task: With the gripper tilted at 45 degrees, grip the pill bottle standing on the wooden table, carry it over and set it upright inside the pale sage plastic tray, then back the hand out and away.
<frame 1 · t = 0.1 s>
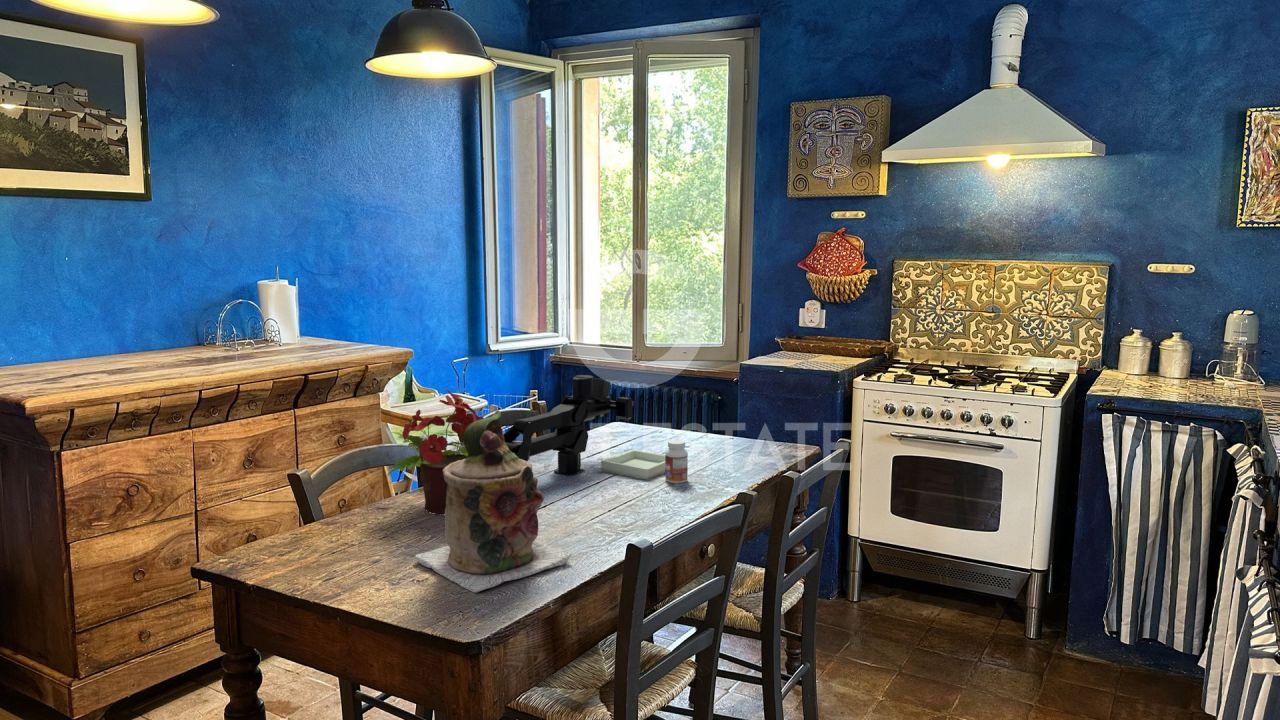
hand: (621, 401, 273), 17 cm above the table, tool horizontal, fingers open, 9 cm apart
pill bottle: (676, 481, 246), on the table
cookie jar: (493, 563, 186), on the table
potted plant: (451, 504, 226), on the table
tray: (640, 469, 258), on the table
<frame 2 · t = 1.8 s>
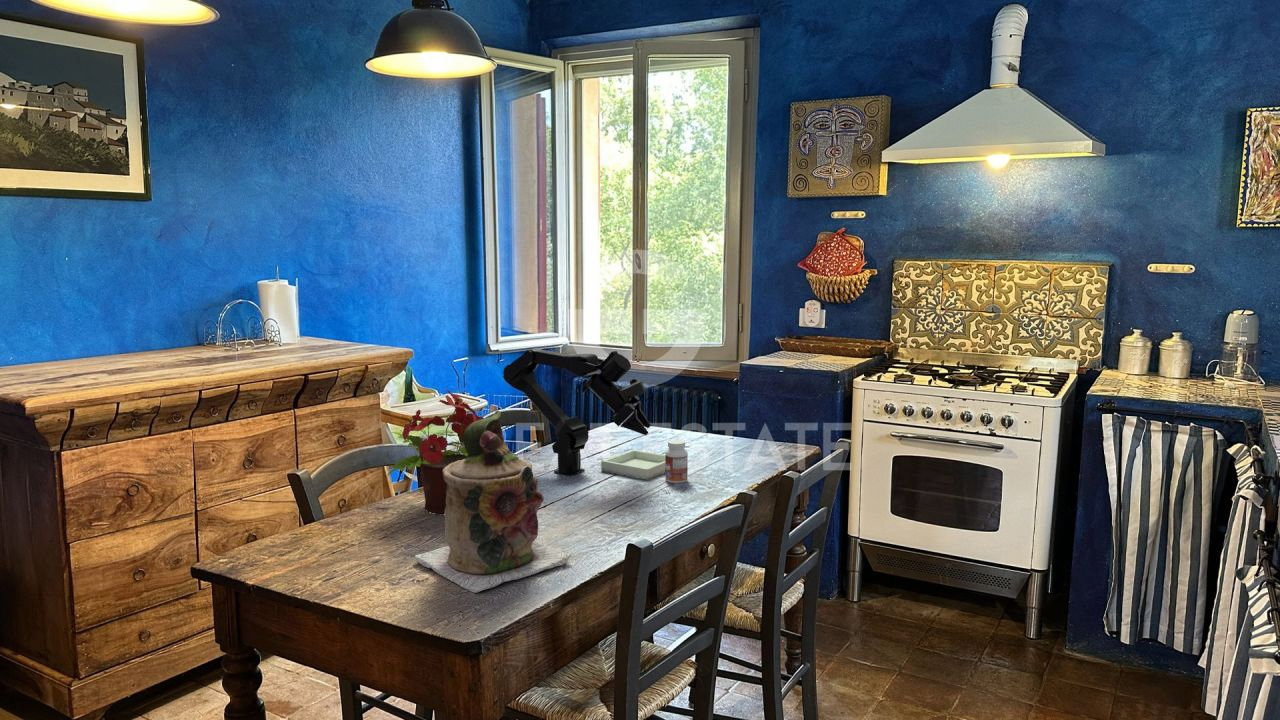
hand: (648, 430, 246), 14 cm above the table, tool tilted 45°, fingers open, 9 cm apart
nothing on the table moved.
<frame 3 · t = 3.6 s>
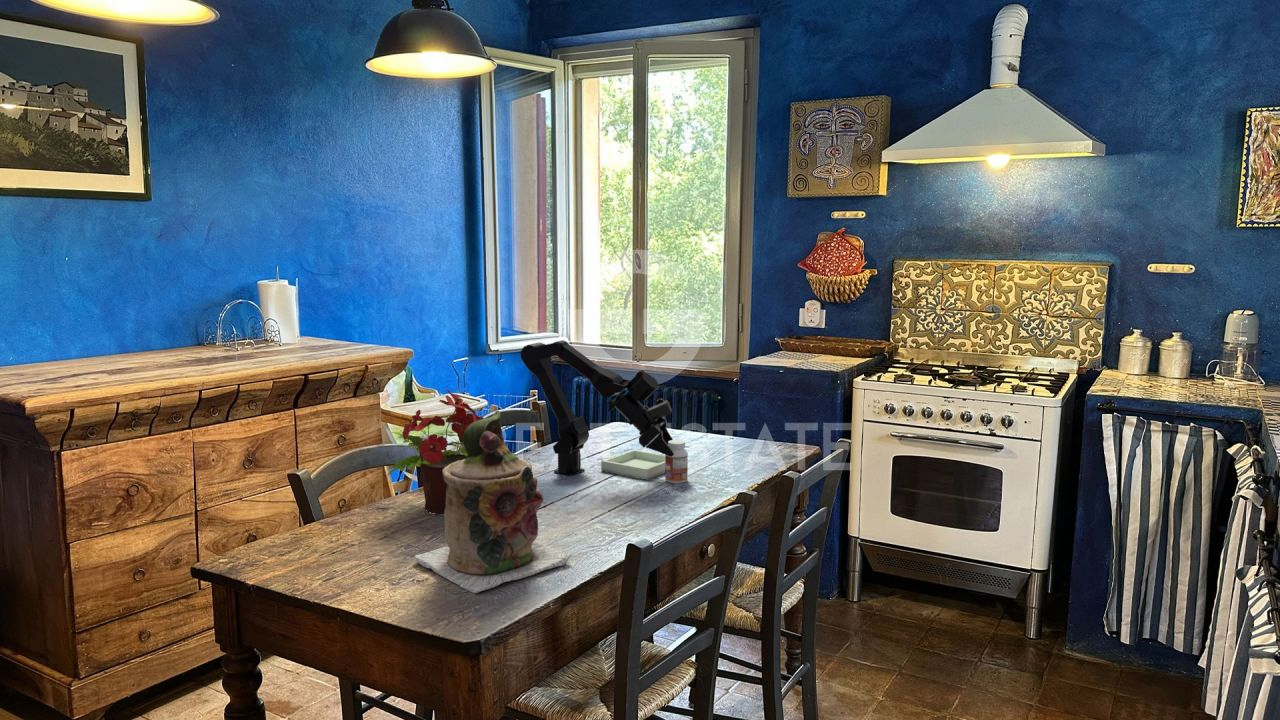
hand: (674, 451, 245), 8 cm above the table, tool tilted 45°, fingers open, 9 cm apart
nothing on the table moved.
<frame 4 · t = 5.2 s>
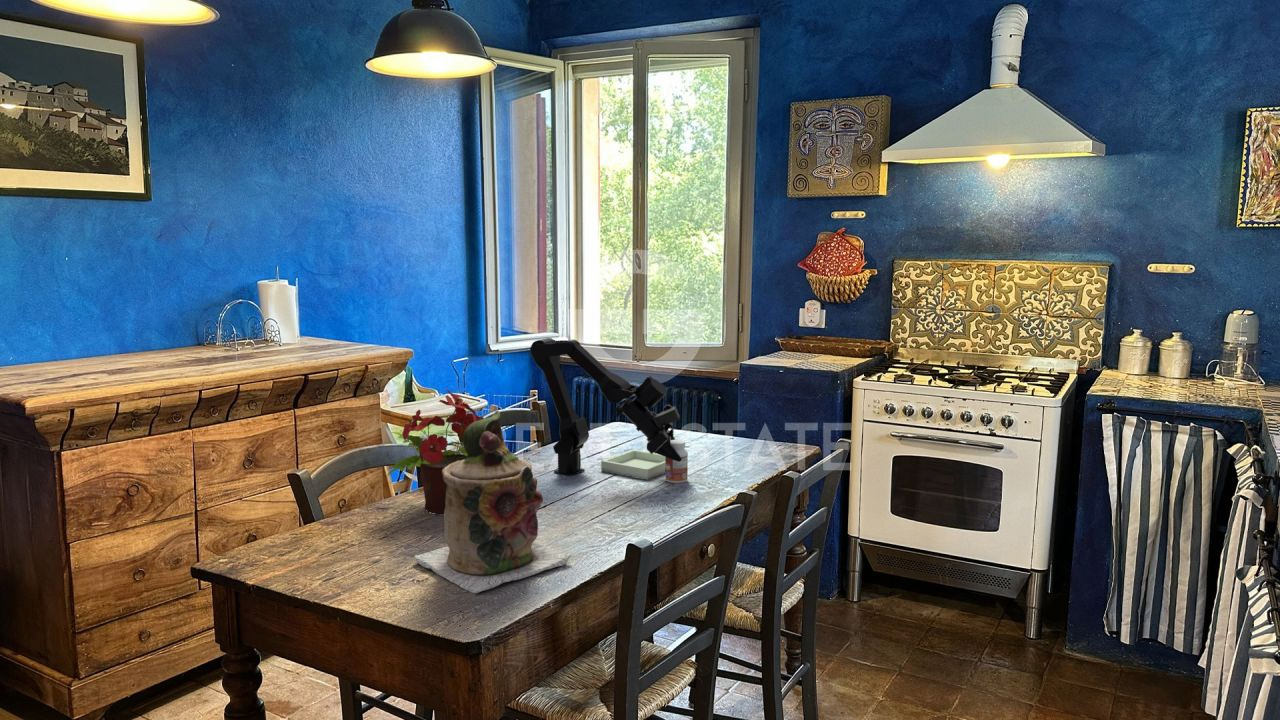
hand: (681, 457, 245), 7 cm above the table, tool tilted 45°, fingers closed on pill bottle, 6 cm apart
pill bottle: (676, 481, 246), on the table, touching gripper
everything else where it was.
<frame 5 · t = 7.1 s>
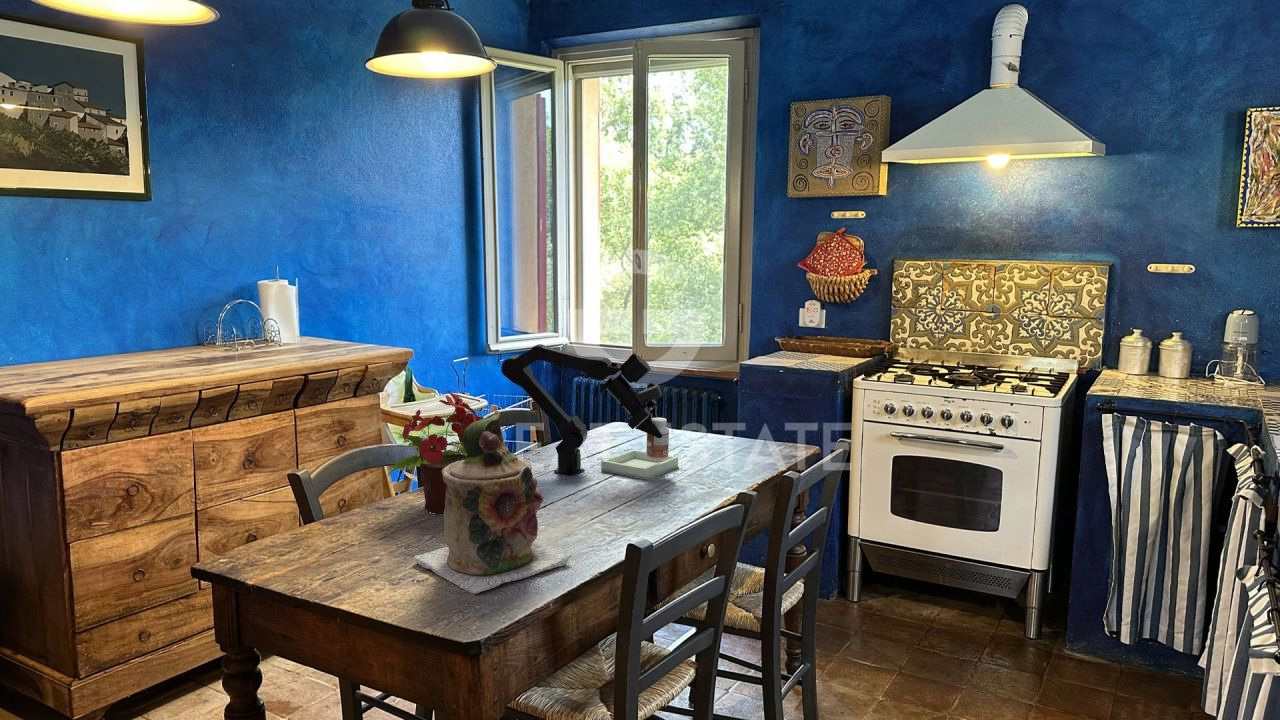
hand: (662, 434, 250), 12 cm above the table, tool tilted 45°, fingers closed on pill bottle, 6 cm apart
pill bottle: (657, 458, 251), point 5 cm above the table, touching gripper
everything else where it was.
when the fingers open (9 cm above the table, at t = 9.4 s): pill bottle stays where it is, resting on tray.
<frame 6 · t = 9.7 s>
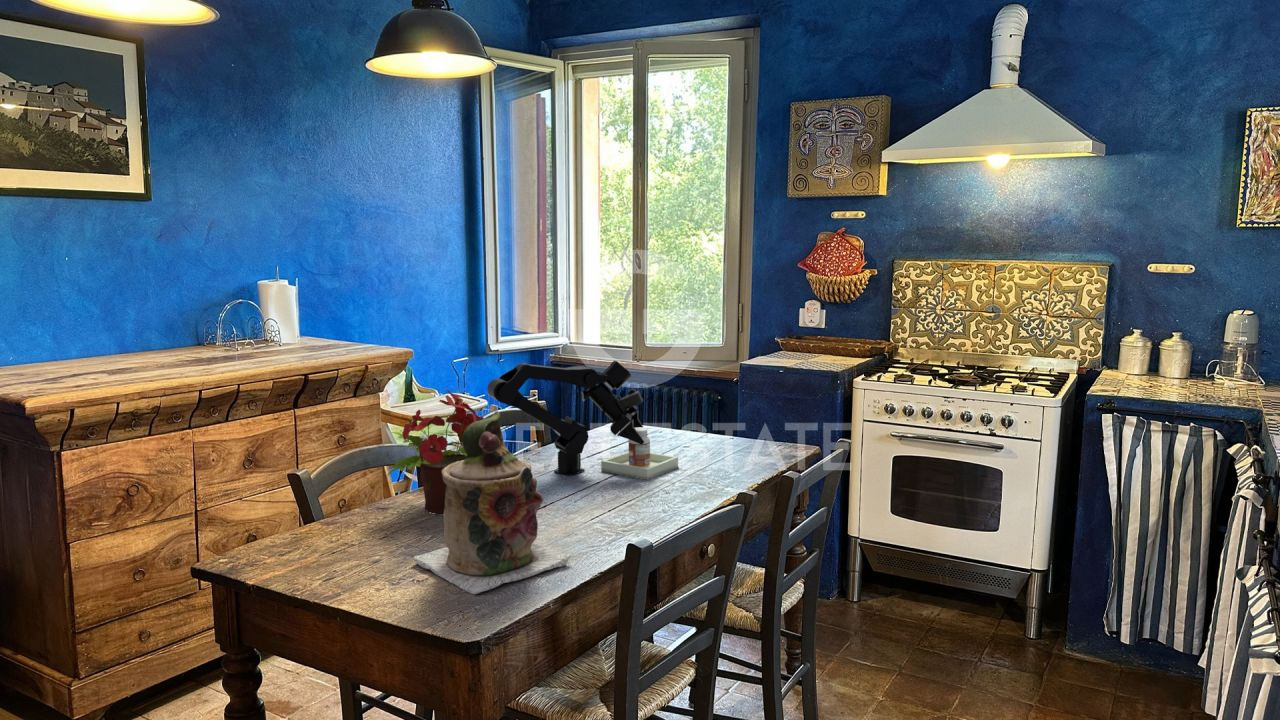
hand: (644, 439, 257), 9 cm above the table, tool tilted 45°, fingers open, 9 cm apart
pill bottle: (639, 467, 258), point 1 cm above the table, touching tray
everything else where it was.
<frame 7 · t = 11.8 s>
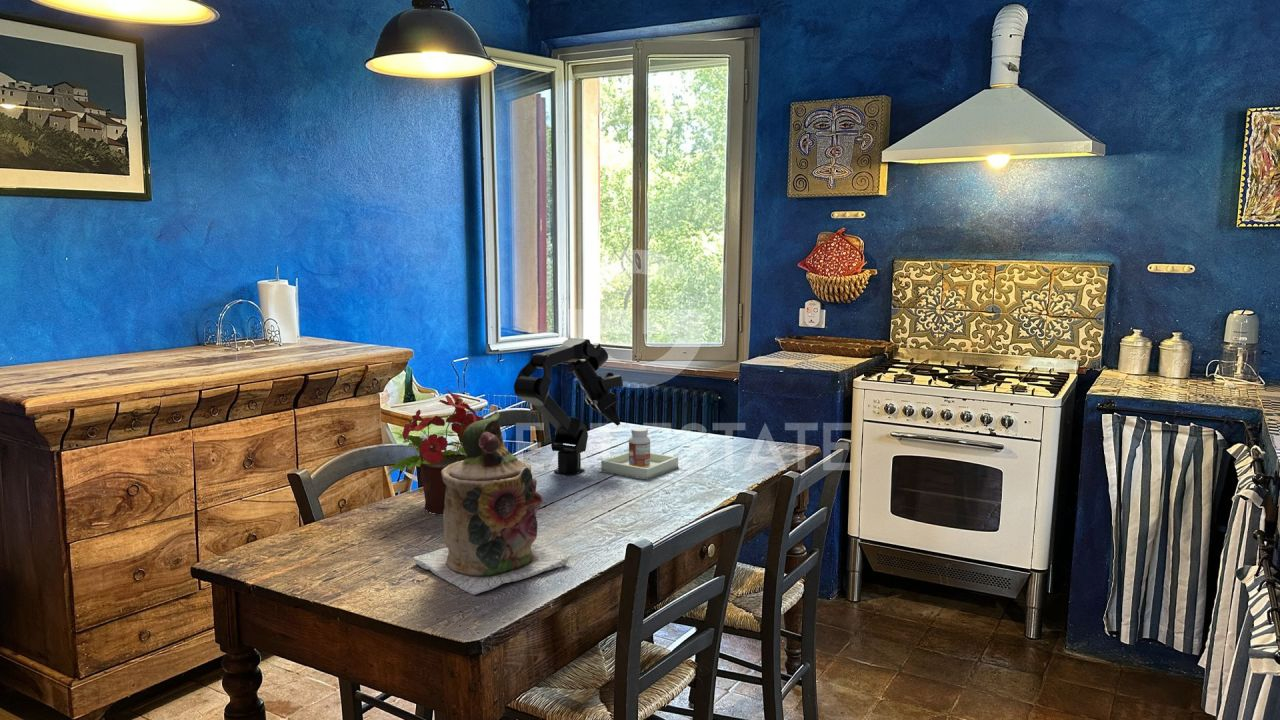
hand: (615, 422, 261), 13 cm above the table, tool tilted 30°, fingers open, 9 cm apart
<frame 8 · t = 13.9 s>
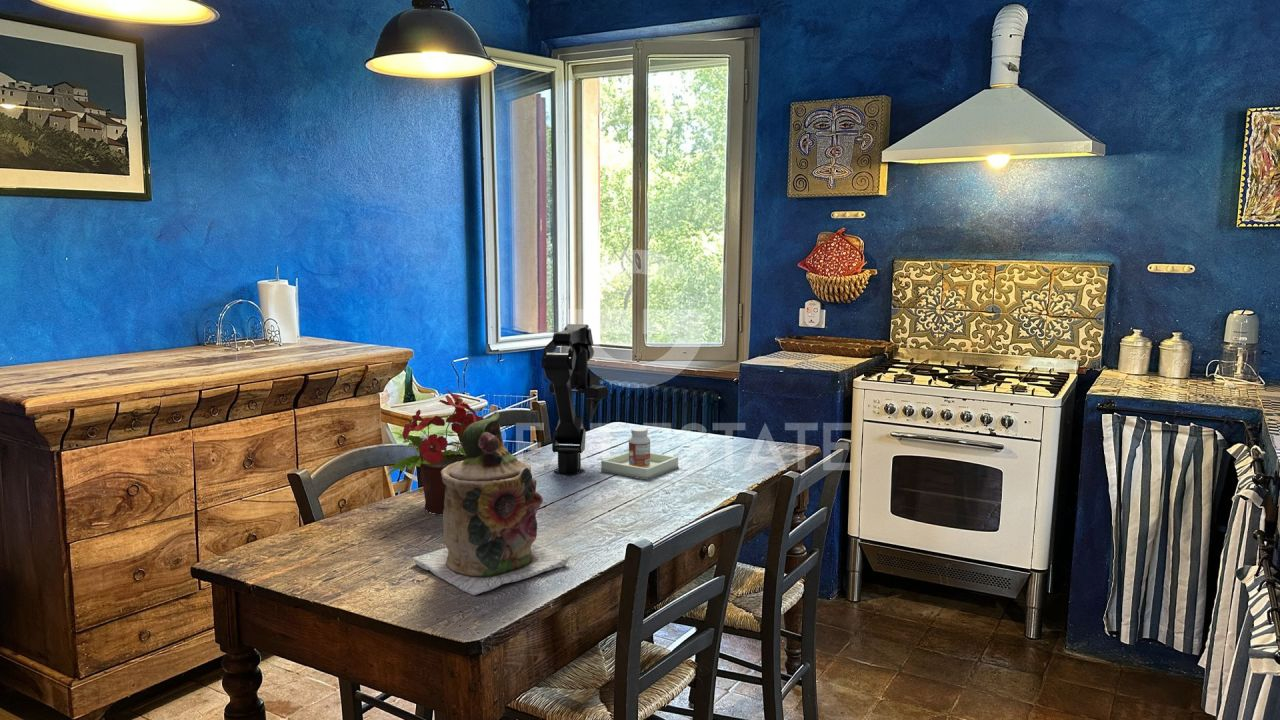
hand: (578, 417, 266), 13 cm above the table, tool pointing down, fingers open, 9 cm apart
at the end: pill bottle inside the target area on the tray (0.1 cm from its centre), point 0.6 cm above the tray's base; pill bottle tilted 0°; the gripper is holding nothing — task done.
